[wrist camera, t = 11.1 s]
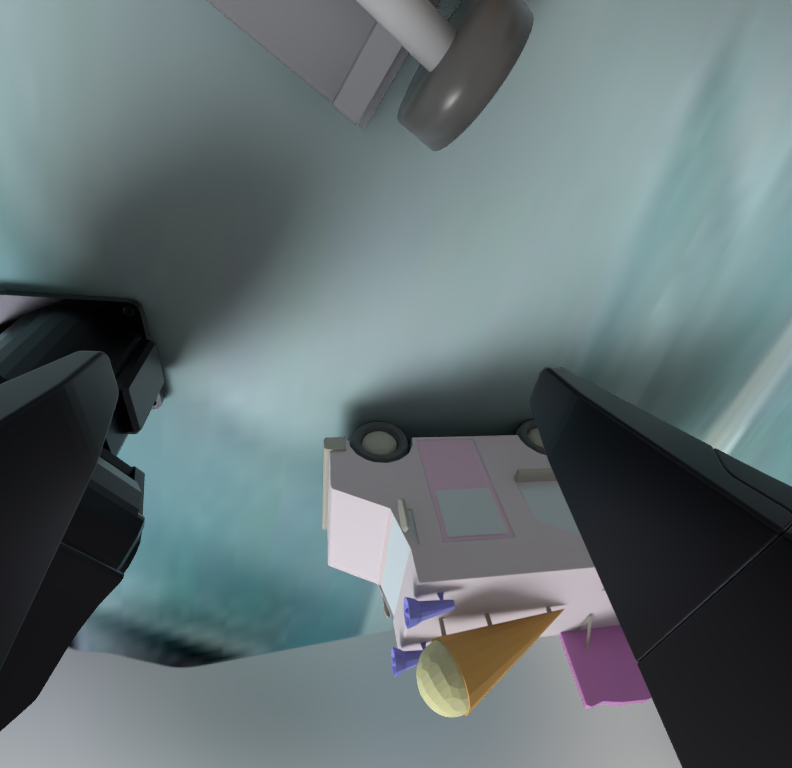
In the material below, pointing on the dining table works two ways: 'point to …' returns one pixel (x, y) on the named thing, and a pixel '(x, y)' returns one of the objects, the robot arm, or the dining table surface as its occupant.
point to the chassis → (393, 54)
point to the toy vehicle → (472, 561)
